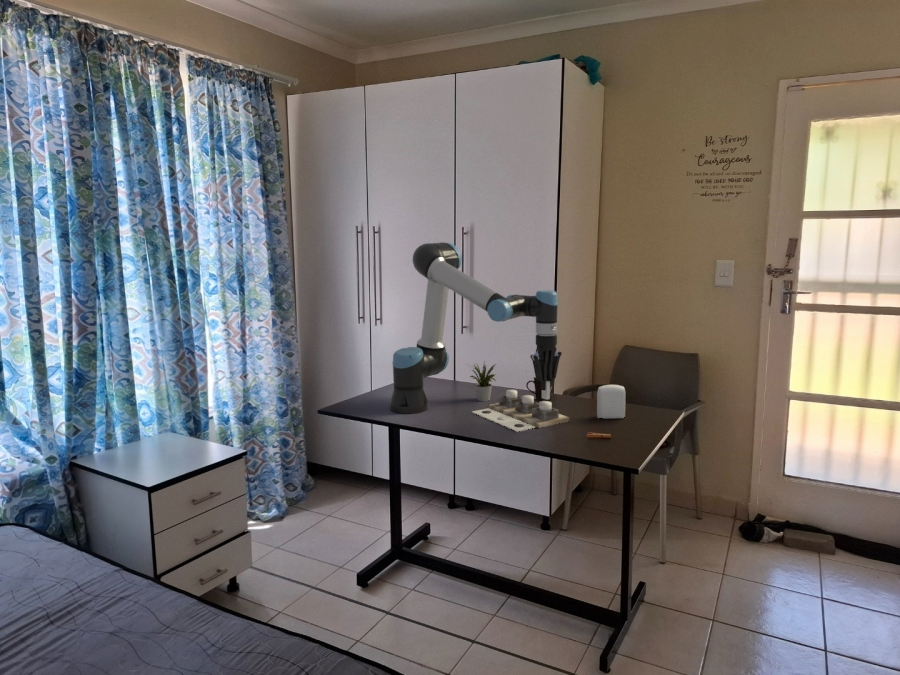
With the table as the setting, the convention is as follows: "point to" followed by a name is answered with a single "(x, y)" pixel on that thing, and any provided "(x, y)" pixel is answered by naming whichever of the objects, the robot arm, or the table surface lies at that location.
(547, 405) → the button
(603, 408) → the photo printer
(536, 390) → the coffee mug
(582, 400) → the table surface
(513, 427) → the pattern card
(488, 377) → the house plant
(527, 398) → the button middle
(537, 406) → the button board
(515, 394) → the button
